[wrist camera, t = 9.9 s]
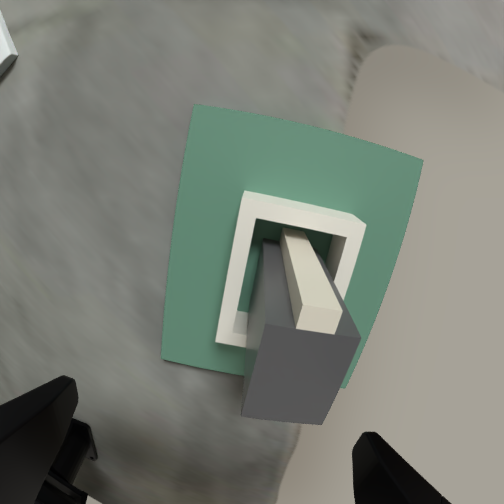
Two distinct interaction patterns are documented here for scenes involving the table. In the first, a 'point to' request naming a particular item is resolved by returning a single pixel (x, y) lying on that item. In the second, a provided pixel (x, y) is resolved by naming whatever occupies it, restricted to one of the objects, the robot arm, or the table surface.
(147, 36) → the table surface
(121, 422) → the table surface
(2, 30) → the external hard drive
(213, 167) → the board
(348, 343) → the plug
